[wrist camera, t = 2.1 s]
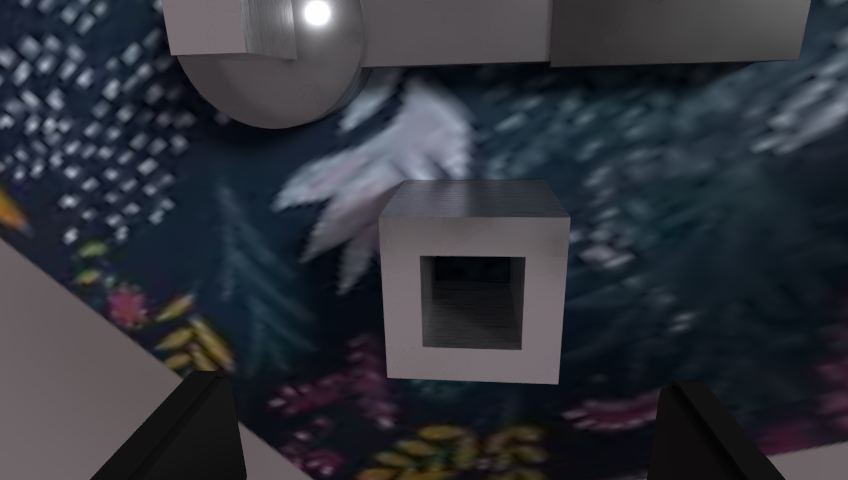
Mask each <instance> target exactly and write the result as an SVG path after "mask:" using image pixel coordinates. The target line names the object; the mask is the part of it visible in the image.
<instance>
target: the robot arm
mask: <svg viewBox="0 0 848 480" xmlns="http://www.w3.org/2000/svg"><path fill="white" fill-rule="evenodd" d="M246 478H247V474H246V467H245V462H244V456H243V450H242V444H241V439H240V432H239V427H238V421H237V415H236V409H235V404H234V398H233V392H232V386H231V382H230V380H229V379H228V378H224V376H223V374H222V373H221V372H219V371H193V372H191V373H190V374H189V375H188V376H187V377H186V378H185V379H184V380H183V381H182V383H181V384H180V385H179V386H178V387H177V388H176V389H175V390H174V391H173V392H172V393H171V394H170V395H169V396H168V397H167V398H166V400H165V401H164V402H163V403H162V404H161V405H160V406H159V407H158V408H157V409H156V410H155V411H154V412H153V413H152V414H151V415H150V416H149V418H147V420H146V421H145V422H144V423H143V424H142V425H141V426H140V427H139V428H138V429H137V430H136V431H135V432H134V433H133V434H132V436H131V437H130V438H129V439H128V440H127V441H126V442H125V443H124V444H123V445H122V446H121V447H120V448H119V449H118V450H117V451H116V453H114V455H113V456H112V457H111V458H110V459H109V460H108V461H107V462H106V463H105V464H104V465H103V466H102V467H101V468H100V469H99V471H98V472H97V473H96V474H95V475H94V476H93V477H92V478H91V479H90V480H246ZM647 480H785V478H784V477H783V476H782V475H781V474H780V472H779V471H778V470H777V469H776V468H775V466H774V465H773V464H772V463H771V462H770V460H769V459H768V458H767V457H766V456H765V455H764V454H763V453H762V452H761V451H760V450H759V449H758V448H757V446H756V445H755V444H754V443H753V442H752V440H751V439H750V438H749V437H748V435H747V434H746V433H745V432H744V431H743V429H742V428H741V427H740V426H739V424H738V423H737V422H736V421H735V420H734V418H733V417H732V416H731V415H730V413H729V412H728V411H727V410H726V409H725V407H724V406H723V405H722V404H721V403H720V401H719V400H718V399H717V398H716V396H715V395H714V394H713V393H712V392H711V390H710V389H709V388H708V387H707V385H706V384H704V383H703V382H701V381H672V382H670V384H669V386H668V388H662V389H661V391H660V395H659V402H658V409H657V416H656V422H655V429H654V436H653V442H652V449H651V456H650V463H649V469H648V476H647Z"/></svg>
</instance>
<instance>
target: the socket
mask: <svg viewBox="0 0 848 480" xmlns="http://www.w3.org/2000/svg"><path fill="white" fill-rule="evenodd" d="M378 220H379V238H380V255H381V272H382V290H383V307H384V324H385V342H386V359H387V376H388V378H407V379H433V380H459V381H485V382H511V383H537V384H558V380H559V366H560V353H561V339H562V325H563V312H564V298H565V285H566V271H567V258H568V244H569V230H570V216H569V215H568V213H567V212H566V211H565V209H564V208H563V206H562V205H561V203H560V202H559V201H558V199H557V198H556V196H555V195H554V194H553V192H552V191H551V189H550V188H549V186H548V185H547V184H546V182H545V181H544V180H404V182H403V183H402V185H401V186H400V187H399V189H398V190H397V192H396V193H395V194H394V196H393V197H392V199H391V200H390V201H389V203H388V204H387V206H386V207H385V208H384V210H383V211H382V213H381V214H380V215H379V217H378ZM435 256H498V257H510V280H509V281H492V280H436V261H435Z"/></svg>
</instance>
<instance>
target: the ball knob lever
mask: <svg viewBox="0 0 848 480" xmlns="http://www.w3.org/2000/svg"><path fill="white" fill-rule="evenodd" d="M810 1H811V0H161V2H162V7H163V13H164V18H165V24H166V30H167V35H168V41H169V46H170V52H171V55H174V56H177V57H178V59H179V62H180V64H181V66H182V68H183V70H184V72H185V73H186V75H187V76H188V78H189V80H190V81H191V83H192V84H193V85H194V86H195V88H196V89H197V90H198V92H199V93H200V94H201V95H202V96H203V97H204V98H205V99H206V100H207V101H208V102H209V103H210V104H212V105H213V106H214V107H215V108H217V109H218V110H219V111H221V112H222V113H224V114H226V115H227V116H229V117H231V118H233V119H235V120H237V121H239V122H242V123H245V124H248V125H251V126H255V127H260V128H270V129H279V128H288V127H293V126H297V125H301V124H305V123H309V122H314V121H318V120H322V119H325V118H327V117H330V116H333V115H334V114H336V113H338V112H340V111H341V110H343V109H344V108H345V107H347V106H348V105H349V104H350V103H351V102H352V101H353V100H354V99H355V98H356V97H357V96H358V95H359V93H360V92H361V91H362V89H363V88H364V86H365V85H366V83H367V81H368V79H369V77H370V75H371V72H372V70H373V69H380V68H413V67H446V66H479V65H511V64H541V69H556V68H590V67H624V66H658V65H692V64H727V63H757V62H771V61H786V60H799V55H800V50H801V45H802V40H803V35H804V30H805V26H806V21H807V16H808V11H809V6H810Z"/></svg>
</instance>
